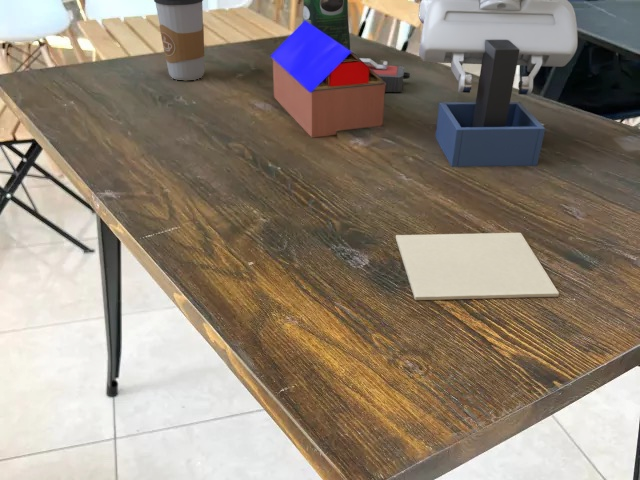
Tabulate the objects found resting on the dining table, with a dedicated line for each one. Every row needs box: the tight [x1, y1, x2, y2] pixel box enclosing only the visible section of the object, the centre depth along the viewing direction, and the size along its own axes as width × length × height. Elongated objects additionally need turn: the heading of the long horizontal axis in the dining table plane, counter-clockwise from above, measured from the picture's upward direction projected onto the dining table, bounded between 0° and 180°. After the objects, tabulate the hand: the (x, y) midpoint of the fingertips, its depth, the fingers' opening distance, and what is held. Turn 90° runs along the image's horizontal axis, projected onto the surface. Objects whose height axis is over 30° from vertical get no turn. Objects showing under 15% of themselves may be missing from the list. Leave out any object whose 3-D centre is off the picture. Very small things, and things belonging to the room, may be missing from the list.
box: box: [435, 101, 546, 168], centre depth 89 cm, size 12×11×6 cm
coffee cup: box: [153, 0, 205, 81], centre depth 114 cm, size 8×8×15 cm
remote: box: [472, 40, 519, 127], centre depth 86 cm, size 3×5×14 cm, turn 3°
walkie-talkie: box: [358, 57, 411, 93], centre depth 115 cm, size 9×4×20 cm
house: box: [270, 21, 386, 138], centre depth 100 cm, size 12×20×12 cm, turn 20°
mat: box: [395, 232, 560, 301], centre depth 67 cm, size 14×12×1 cm
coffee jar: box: [302, 0, 351, 51], centre depth 123 cm, size 10×8×19 cm
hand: (495, 91), depth 85 cm, fingers open, 6 cm apart
